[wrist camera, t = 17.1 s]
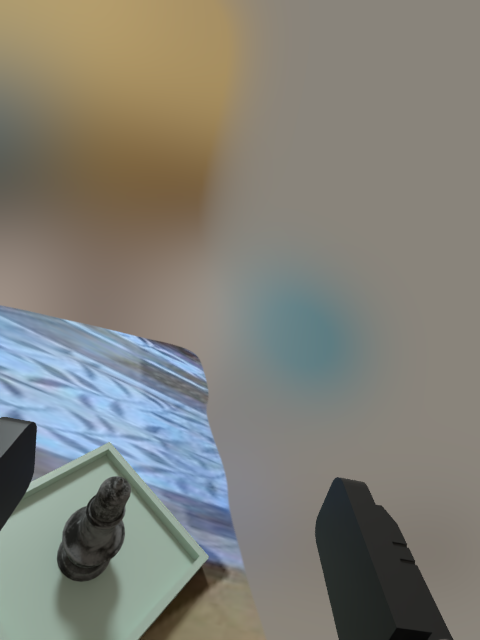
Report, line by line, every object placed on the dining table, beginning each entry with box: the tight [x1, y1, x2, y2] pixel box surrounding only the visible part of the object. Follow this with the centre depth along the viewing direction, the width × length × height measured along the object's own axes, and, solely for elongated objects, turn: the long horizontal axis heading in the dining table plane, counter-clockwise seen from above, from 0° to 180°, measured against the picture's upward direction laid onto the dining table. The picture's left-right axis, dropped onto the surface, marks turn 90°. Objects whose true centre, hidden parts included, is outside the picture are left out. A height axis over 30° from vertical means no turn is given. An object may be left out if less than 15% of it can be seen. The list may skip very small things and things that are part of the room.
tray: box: [0, 442, 209, 640], centre depth 37 cm, size 19×19×2 cm
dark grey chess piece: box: [57, 476, 131, 582], centre depth 34 cm, size 6×6×12 cm
